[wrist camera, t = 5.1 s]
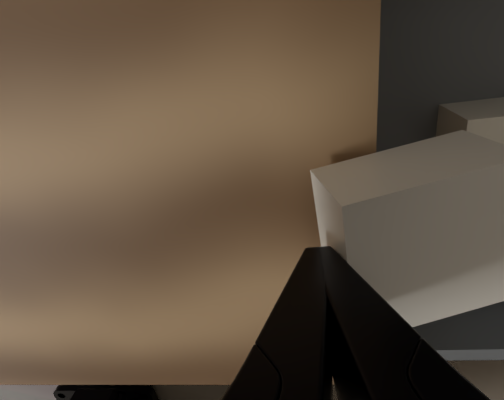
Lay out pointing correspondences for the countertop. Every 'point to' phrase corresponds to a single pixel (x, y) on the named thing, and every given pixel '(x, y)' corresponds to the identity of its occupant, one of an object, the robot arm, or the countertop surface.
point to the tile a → (420, 223)
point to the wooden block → (166, 176)
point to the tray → (426, 115)
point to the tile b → (473, 118)
